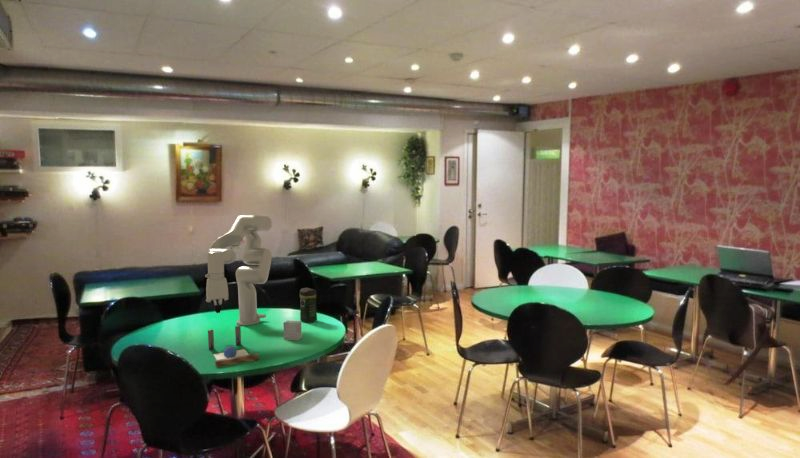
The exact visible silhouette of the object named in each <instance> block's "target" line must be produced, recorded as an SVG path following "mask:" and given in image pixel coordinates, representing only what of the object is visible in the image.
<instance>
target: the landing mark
mask: <svg viewBox="0 0 800 458" xmlns="http://www.w3.org/2000/svg"><path fill="white" fill-rule="evenodd" d="M236 351H237V353H236V356H235V357H238V356H244V355H250V354H249V353H248V351H246V349H243V348H242V349H239V350H237V349H236ZM213 356H214V358H215V360H220V359H226V357H225V356H224V352H218V353H214V354H213Z"/></svg>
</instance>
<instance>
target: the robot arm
mask: <svg viewBox="0 0 800 458" xmlns="http://www.w3.org/2000/svg"><path fill="white" fill-rule="evenodd" d="M272 225H273V221H272V219H271V217H269V216H268V215H259V214H241V215H240V214H239V215H238V216H237V217H236V218H235V219H234V221H233V223H232V225H231V227H230V228H229V230H228V231H227V232H226V233H225V234H223V235H221V236H218V238H217V239H215V240H214V241H212V243H211V245H210V246H209V247H208V250H207V252H206V261H207V273H206V274H205V275H204V277H205V278H207V279H206V283H205V285H206V287H205V296H206V299H205V301H206V303H212V305H213V307H214V312H215V313H216V314H220V313H221V311H222V304H223V303H224V302H226V301H228V300H229V286H228V281H227V278H226V277H225V265H229V264H232V263H234V261H235V260H236V258H237V255H236V252H235V250H234V249H231V248H228V247H232V246H235V245H238V244H240V243H241V242H243V240H244V238H245V245H244V248H243V253H242V262H243V263H244V264H245V265H242V266H240V267H237V269H236V270H235V279H236V280H235V281H236V284H237V290H238V291H237V293H238V316H239V318H238V319H237V320H236V324H237V326H252V325H257V324H259V323H261V319H264V318H266V317H267V314H266V313H260V314H259V313H258V308H257V306H258V303H257V289H256V287H255V285H256V284H257V285H262V284H263V285H264V284H265V283H267V281H268V278H269V275H270V271H271V264H272V259H273V258H272V257H273V256H272V252H271V250H270V249H269V248H266V247H262V238H261V236H260V235H259V233H258V232H268V231H270V230H271V228H272V227H273V226H272ZM217 300H218V302H217Z"/></svg>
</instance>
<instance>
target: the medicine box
mask: <svg viewBox="0 0 800 458" xmlns="http://www.w3.org/2000/svg"><path fill="white" fill-rule="evenodd" d="M282 326H283V340H290V341H300V340H302V338H303V331H302V329H303V328H302V321H301V320H300V321H298V320H289V319H287V320H286V321H284V322H283V325H282Z"/></svg>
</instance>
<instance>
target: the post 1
mask: <svg viewBox="0 0 800 458" xmlns="http://www.w3.org/2000/svg"><path fill="white" fill-rule="evenodd" d="M214 335H215V334H214V329H208V330H207V341H208V351H209V350H210V351H212V350H214V349H215V338H214V337H215V336H214Z"/></svg>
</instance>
